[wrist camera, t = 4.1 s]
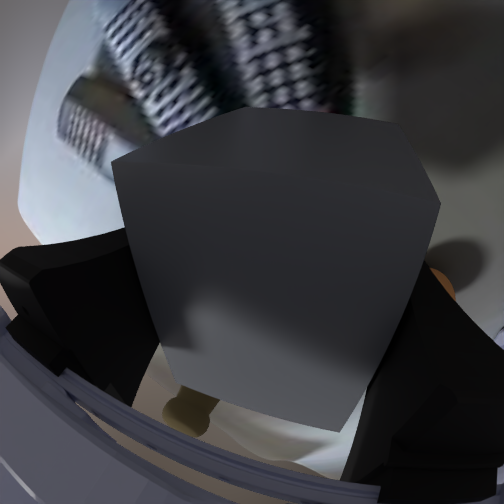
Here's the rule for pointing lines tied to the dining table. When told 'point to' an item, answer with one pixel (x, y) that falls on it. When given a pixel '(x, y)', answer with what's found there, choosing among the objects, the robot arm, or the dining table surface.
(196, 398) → the cork
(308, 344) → the dark gray square block
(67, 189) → the dining table surface
